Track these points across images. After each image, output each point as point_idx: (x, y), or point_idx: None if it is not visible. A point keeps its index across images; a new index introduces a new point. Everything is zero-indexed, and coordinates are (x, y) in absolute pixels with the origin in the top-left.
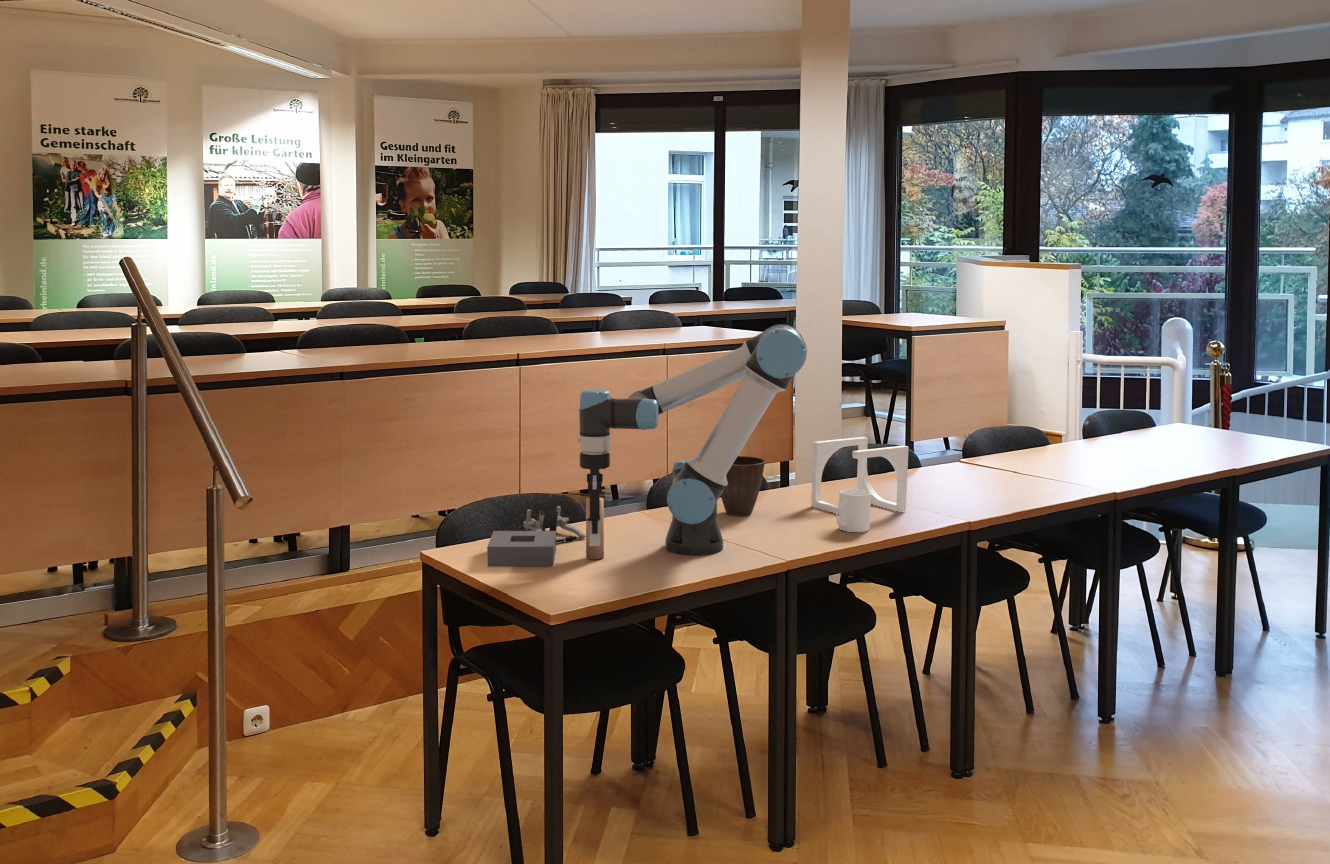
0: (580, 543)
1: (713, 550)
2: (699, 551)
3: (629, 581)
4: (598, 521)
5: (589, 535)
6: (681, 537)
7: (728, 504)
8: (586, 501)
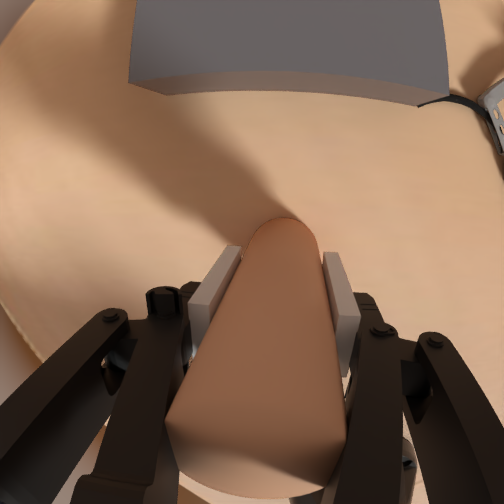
0: (486, 211)
1: None
2: None
3: (59, 316)
4: (195, 351)
5: (214, 264)
6: None
7: None
8: (219, 383)
